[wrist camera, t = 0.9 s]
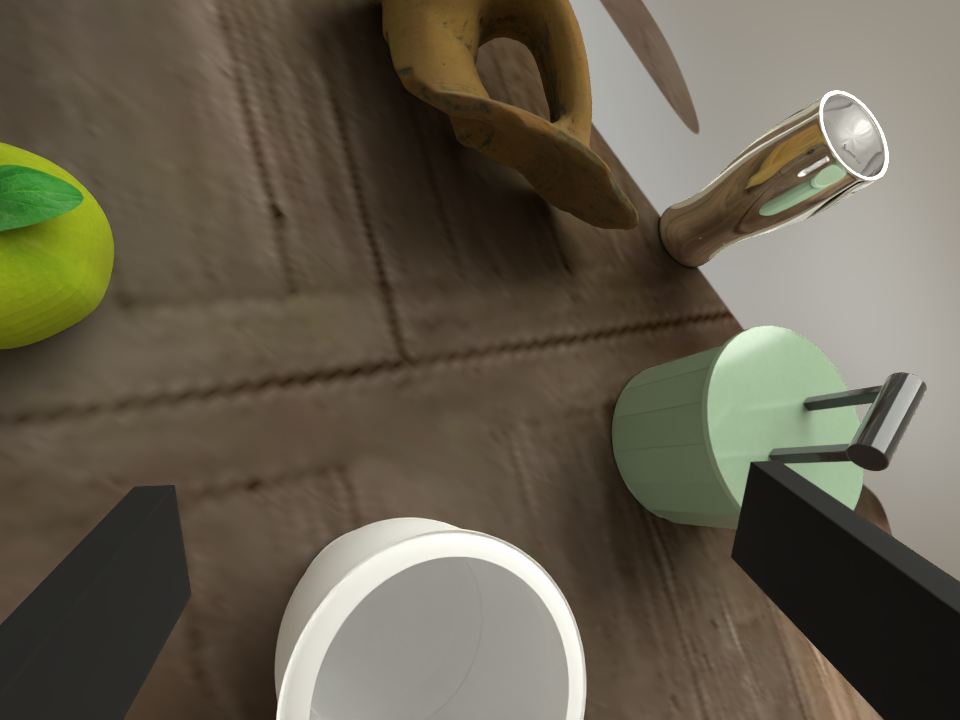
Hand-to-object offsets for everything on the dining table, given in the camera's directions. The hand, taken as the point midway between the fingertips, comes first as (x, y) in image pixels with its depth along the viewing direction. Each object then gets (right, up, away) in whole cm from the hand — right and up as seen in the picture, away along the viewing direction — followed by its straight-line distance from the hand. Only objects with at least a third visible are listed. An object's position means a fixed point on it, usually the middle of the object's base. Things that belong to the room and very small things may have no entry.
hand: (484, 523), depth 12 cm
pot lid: (+19, -1, +21) cm, 28 cm away
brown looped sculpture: (-1, +22, +29) cm, 36 cm away
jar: (-7, -10, +18) cm, 22 cm away
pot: (+16, -3, +29) cm, 33 cm away
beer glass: (+19, +15, +35) cm, 42 cm away
